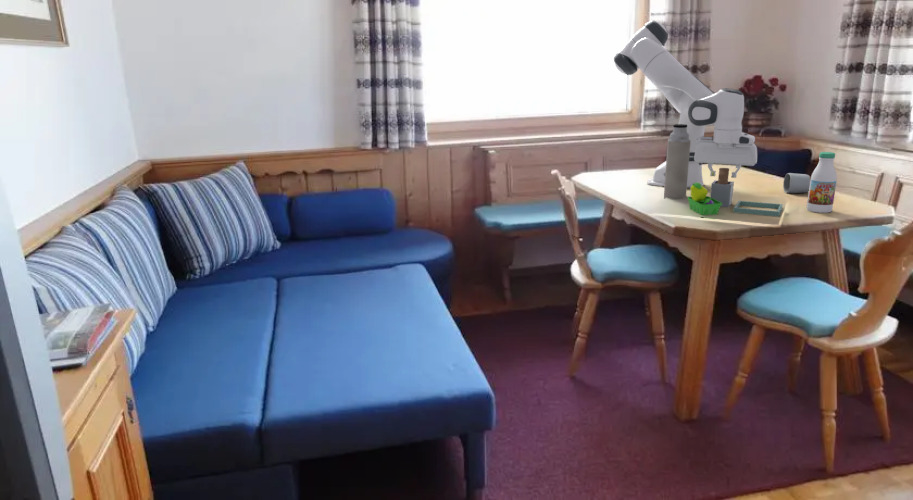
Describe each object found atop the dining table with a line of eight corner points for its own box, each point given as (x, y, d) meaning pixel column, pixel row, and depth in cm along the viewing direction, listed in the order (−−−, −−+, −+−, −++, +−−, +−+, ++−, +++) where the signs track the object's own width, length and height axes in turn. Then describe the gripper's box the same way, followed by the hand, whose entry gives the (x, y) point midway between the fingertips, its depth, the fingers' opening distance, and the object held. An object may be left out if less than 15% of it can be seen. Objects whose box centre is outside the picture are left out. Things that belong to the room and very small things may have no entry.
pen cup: (709, 208, 224) (711, 183, 221) (712, 204, 229) (714, 180, 226) (728, 210, 221) (731, 185, 218) (731, 206, 226) (733, 181, 223)
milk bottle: (801, 208, 220) (809, 151, 214) (822, 207, 221) (831, 150, 215) (815, 213, 213) (823, 154, 207) (837, 212, 213) (846, 153, 207)
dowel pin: (715, 205, 224) (718, 169, 220) (716, 203, 227) (720, 167, 223) (724, 206, 222) (728, 169, 219) (726, 204, 225) (729, 168, 221)
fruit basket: (721, 217, 212) (725, 184, 208) (696, 219, 211) (699, 186, 208) (706, 209, 222) (709, 178, 219) (682, 211, 222) (684, 179, 218)
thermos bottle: (663, 196, 244) (669, 123, 236) (685, 197, 242) (691, 123, 234) (663, 200, 237) (668, 125, 229) (685, 201, 235) (692, 125, 226)
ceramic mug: (811, 194, 240) (814, 174, 238) (788, 194, 241) (791, 174, 239) (800, 189, 250) (803, 170, 248) (778, 189, 251) (781, 170, 249)
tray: (732, 215, 214) (733, 207, 214) (738, 207, 224) (738, 200, 223) (778, 219, 207) (779, 211, 207) (781, 211, 217) (782, 204, 216)
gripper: (693, 137, 220) (690, 176, 224) (757, 139, 210) (753, 180, 214) (697, 134, 225) (694, 173, 229) (760, 137, 215) (755, 177, 219)
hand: (723, 176), depth 222 cm, fingers open, 5 cm apart
